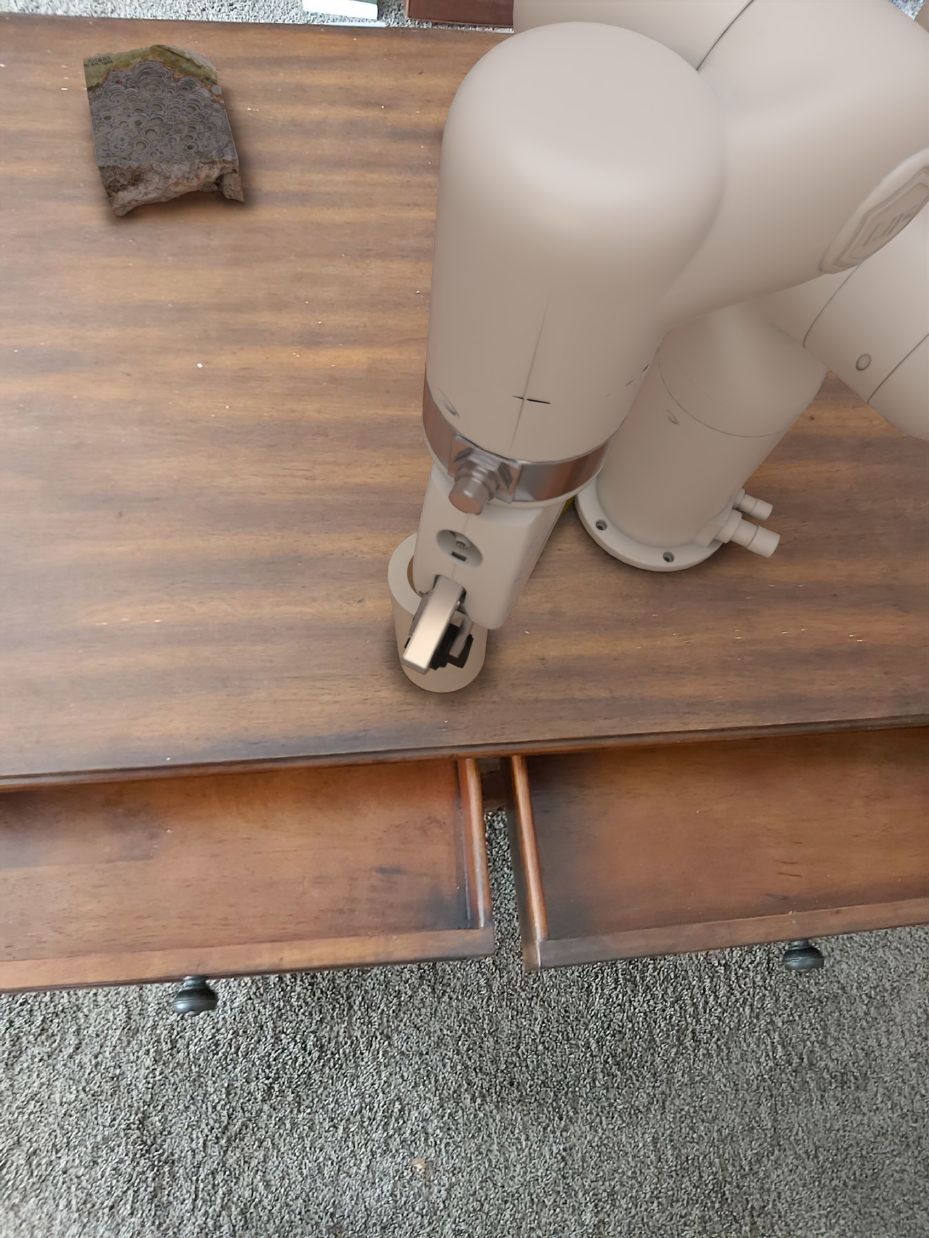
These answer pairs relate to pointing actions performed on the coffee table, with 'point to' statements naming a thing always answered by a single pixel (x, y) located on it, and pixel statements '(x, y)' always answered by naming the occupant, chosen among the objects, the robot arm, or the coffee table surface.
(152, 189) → the geological specimen
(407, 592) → the paper towel roll
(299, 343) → the coffee table surface
